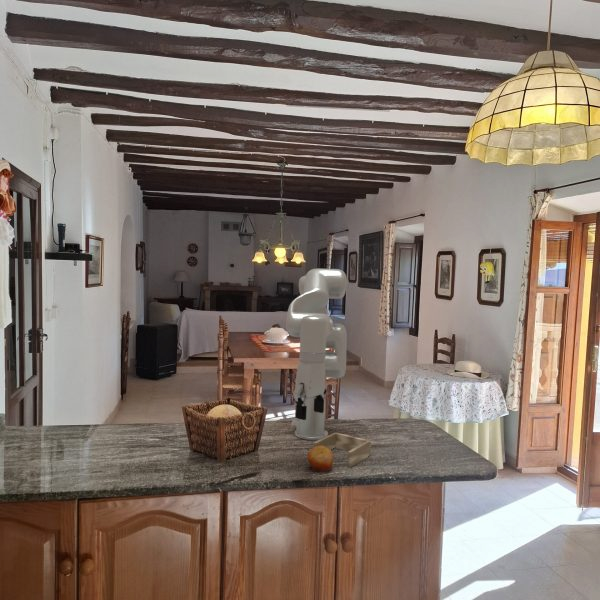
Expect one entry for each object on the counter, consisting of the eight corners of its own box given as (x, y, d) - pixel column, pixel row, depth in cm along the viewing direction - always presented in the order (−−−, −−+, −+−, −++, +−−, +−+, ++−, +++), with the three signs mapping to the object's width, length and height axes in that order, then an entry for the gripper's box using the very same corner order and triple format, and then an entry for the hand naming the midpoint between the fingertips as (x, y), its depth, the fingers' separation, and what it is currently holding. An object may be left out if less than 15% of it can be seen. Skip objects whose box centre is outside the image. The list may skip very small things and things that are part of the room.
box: (313, 457, 169) (313, 442, 169) (334, 446, 181) (335, 432, 180) (350, 467, 161) (351, 452, 161) (370, 455, 173) (370, 440, 173)
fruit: (328, 457, 166) (332, 440, 161) (332, 478, 159) (336, 461, 155) (303, 458, 164) (307, 441, 160) (307, 478, 158) (310, 462, 154)
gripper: (316, 353, 159) (314, 407, 160) (284, 359, 144) (282, 419, 145) (337, 356, 155) (335, 411, 156) (307, 363, 140) (304, 424, 141)
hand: (310, 415), depth 150 cm, fingers open, 9 cm apart
